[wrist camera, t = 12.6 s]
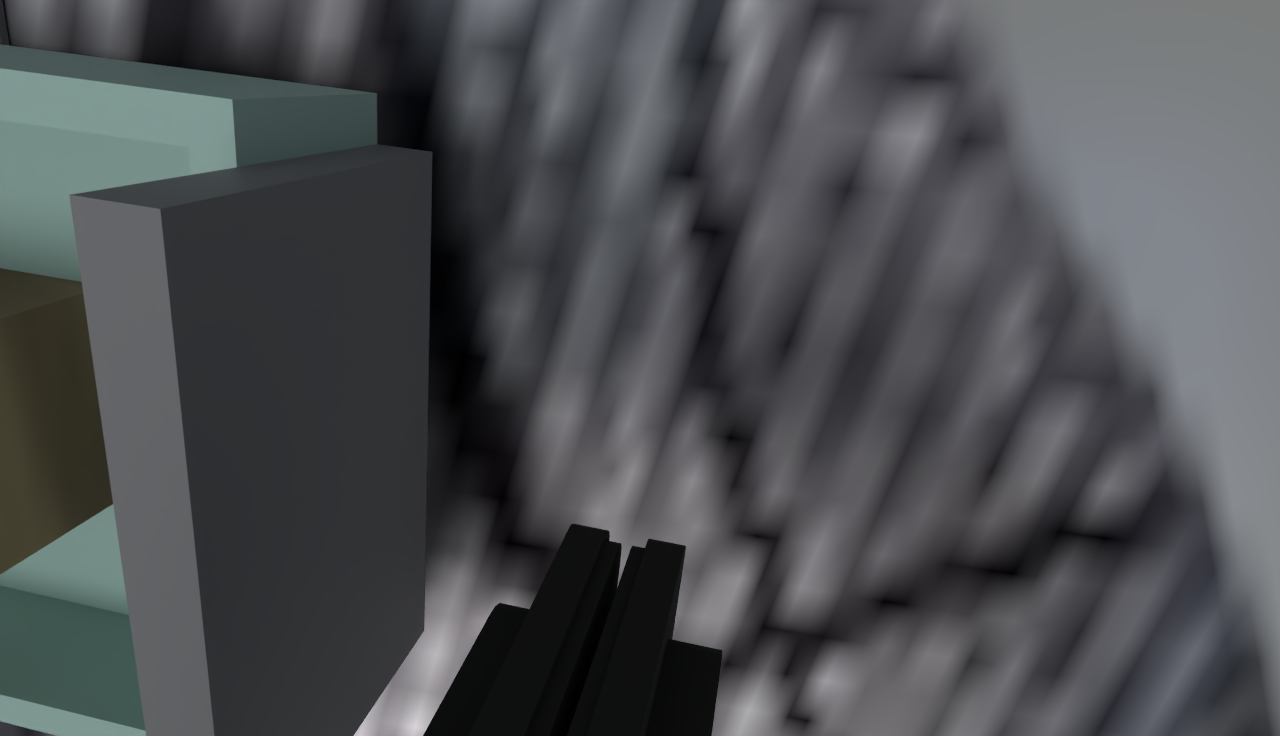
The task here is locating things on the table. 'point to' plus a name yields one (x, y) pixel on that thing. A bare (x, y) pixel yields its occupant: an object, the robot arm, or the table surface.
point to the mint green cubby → (223, 399)
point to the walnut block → (46, 415)
